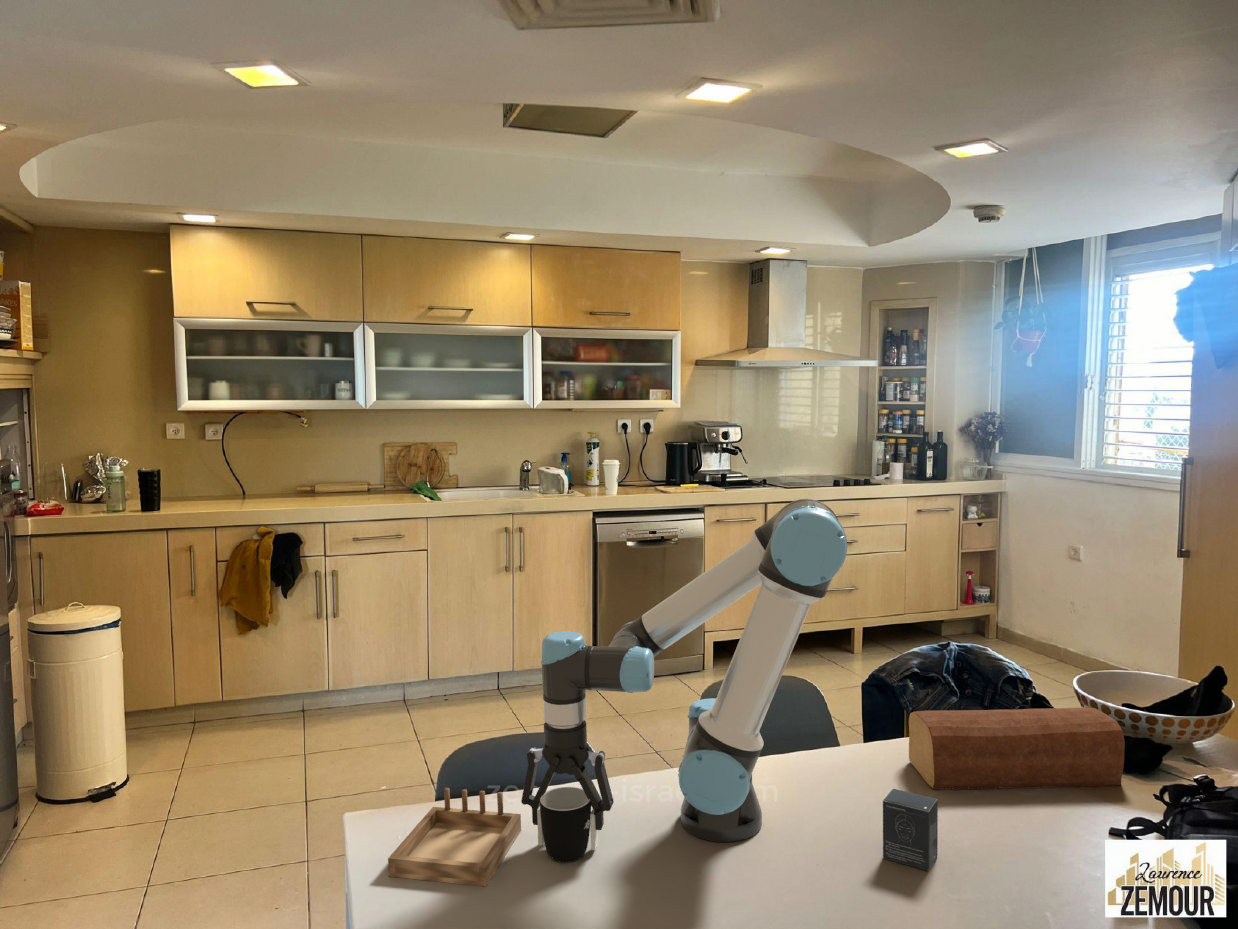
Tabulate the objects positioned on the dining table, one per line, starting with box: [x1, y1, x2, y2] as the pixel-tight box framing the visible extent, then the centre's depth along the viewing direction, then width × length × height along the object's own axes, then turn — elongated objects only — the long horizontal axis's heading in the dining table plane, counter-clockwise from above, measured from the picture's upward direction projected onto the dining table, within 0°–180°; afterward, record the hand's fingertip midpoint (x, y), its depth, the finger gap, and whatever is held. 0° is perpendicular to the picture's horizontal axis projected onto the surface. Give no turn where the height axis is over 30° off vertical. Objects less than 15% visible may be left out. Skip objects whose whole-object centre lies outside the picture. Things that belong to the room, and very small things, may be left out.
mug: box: [540, 786, 592, 863], centre depth 153 cm, size 12×9×10 cm
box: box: [882, 788, 939, 872], centre depth 148 cm, size 8×6×11 cm
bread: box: [908, 707, 1126, 790], centre depth 179 cm, size 16×39×13 cm, turn 90°
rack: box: [387, 787, 522, 887], centre depth 153 cm, size 17×18×7 cm
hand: (568, 843), depth 153 cm, fingers open, 9 cm apart
